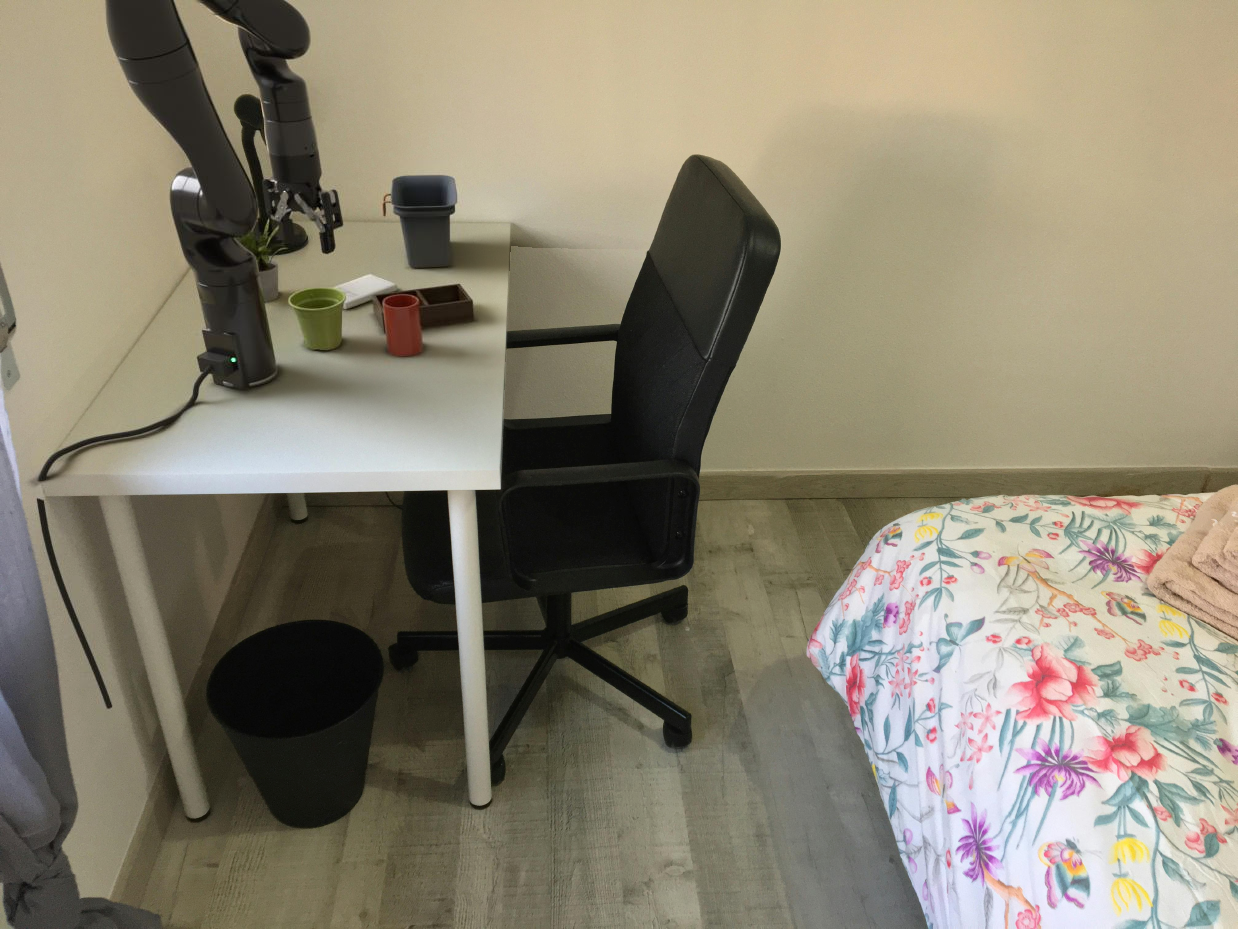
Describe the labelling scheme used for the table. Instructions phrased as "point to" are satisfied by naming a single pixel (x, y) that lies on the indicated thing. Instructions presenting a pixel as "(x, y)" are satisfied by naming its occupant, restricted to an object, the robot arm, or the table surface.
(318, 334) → the plant pot
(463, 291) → the caddy
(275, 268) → the house plant
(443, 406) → the table surface
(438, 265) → the storage bin
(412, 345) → the cup
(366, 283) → the hard drive
